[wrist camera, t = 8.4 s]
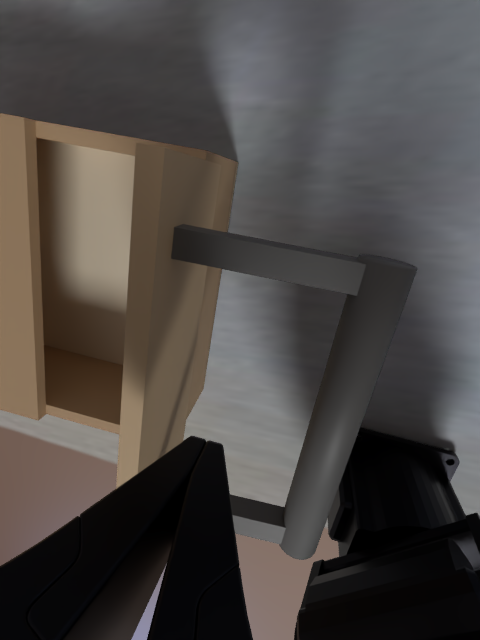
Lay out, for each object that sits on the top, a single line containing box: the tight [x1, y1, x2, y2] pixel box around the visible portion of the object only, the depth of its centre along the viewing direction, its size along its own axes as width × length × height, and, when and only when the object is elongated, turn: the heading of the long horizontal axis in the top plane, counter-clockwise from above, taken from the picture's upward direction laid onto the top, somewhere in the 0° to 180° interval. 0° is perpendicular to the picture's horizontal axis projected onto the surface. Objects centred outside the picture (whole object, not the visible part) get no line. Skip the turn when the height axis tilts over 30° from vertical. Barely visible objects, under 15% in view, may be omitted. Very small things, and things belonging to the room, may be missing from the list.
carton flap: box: [116, 142, 417, 560], centre depth 12 cm, size 6×13×7 cm
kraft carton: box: [0, 113, 238, 434], centre depth 19 cm, size 14×14×7 cm
